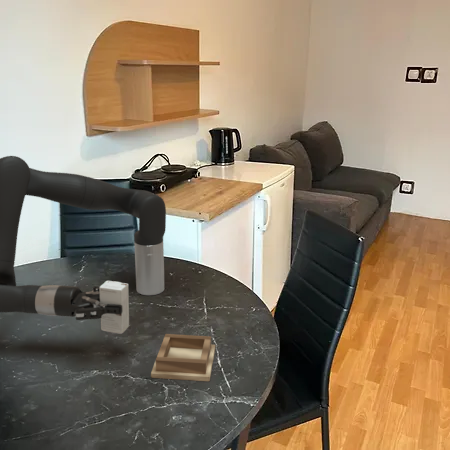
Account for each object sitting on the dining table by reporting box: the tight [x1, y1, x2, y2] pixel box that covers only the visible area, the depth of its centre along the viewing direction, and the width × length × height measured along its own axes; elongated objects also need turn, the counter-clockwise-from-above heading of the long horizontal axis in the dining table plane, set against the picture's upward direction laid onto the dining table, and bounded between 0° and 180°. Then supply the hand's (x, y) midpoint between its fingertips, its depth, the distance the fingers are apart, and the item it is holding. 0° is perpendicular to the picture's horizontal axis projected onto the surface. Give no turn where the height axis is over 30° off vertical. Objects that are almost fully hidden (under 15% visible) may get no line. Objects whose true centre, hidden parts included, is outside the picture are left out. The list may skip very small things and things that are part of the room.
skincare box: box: [99, 280, 130, 335], centre depth 119 cm, size 6×4×12 cm
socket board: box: [150, 333, 216, 382], centre depth 119 cm, size 14×14×4 cm
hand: (124, 304), depth 119 cm, fingers closed on skincare box, 5 cm apart
